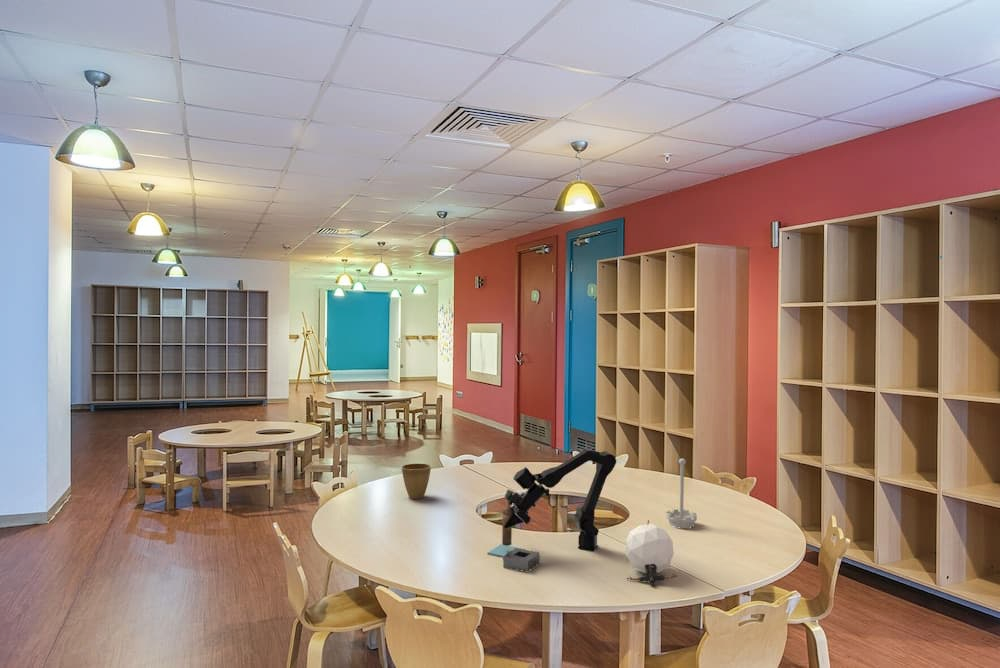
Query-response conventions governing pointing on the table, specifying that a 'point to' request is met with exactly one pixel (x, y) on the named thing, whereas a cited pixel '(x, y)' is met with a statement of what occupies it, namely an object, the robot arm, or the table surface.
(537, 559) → the block
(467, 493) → the table surface
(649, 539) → the white faceted globe lamp
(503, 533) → the brown wooden pin
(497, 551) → the blue square plate
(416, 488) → the plant pot
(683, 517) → the flag stand
